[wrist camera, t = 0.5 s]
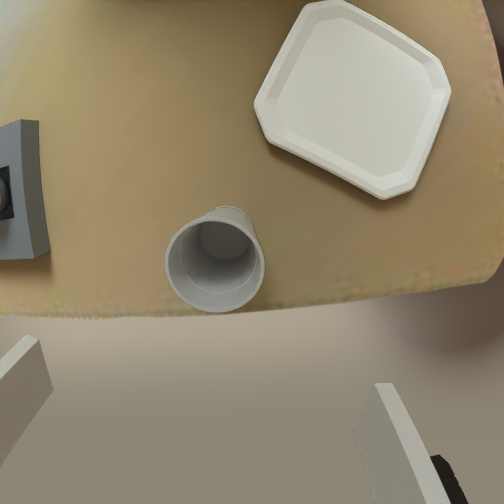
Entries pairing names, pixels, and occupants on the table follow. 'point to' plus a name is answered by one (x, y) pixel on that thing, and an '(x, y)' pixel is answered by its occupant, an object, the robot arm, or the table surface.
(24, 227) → the console
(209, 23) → the table surface
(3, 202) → the button three
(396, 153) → the plate
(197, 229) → the cup
